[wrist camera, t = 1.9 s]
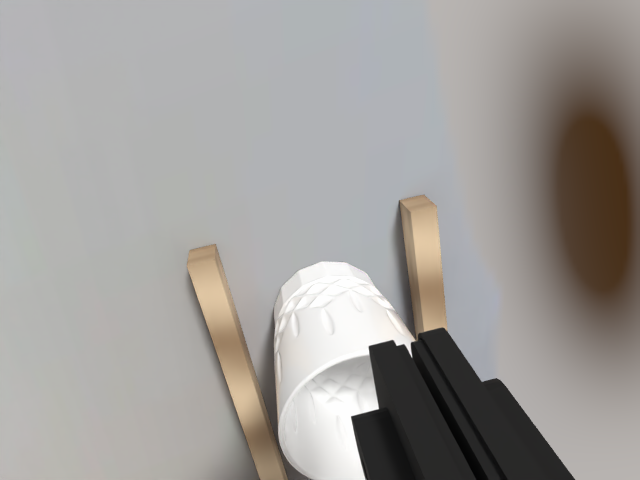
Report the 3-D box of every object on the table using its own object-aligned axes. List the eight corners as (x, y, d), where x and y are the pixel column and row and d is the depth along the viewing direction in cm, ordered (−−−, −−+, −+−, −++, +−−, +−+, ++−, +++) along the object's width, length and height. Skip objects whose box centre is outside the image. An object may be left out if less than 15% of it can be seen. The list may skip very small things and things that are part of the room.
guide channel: (453, 497, 40) (463, 519, 38) (288, 544, 39) (291, 569, 37) (423, 194, 29) (436, 205, 27) (189, 250, 28) (186, 265, 26)
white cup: (389, 346, 33) (449, 467, 24) (273, 368, 32) (290, 502, 23) (383, 241, 30) (450, 335, 21) (255, 262, 29) (266, 370, 20)
